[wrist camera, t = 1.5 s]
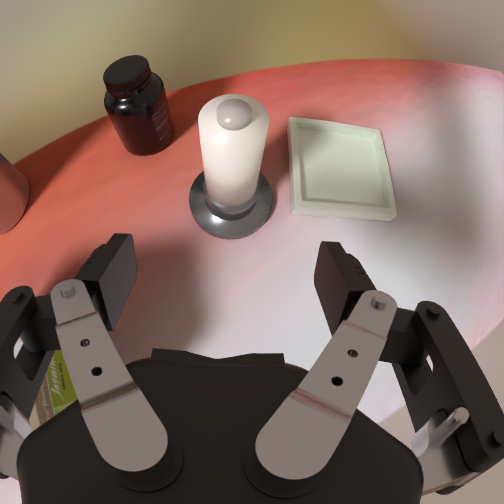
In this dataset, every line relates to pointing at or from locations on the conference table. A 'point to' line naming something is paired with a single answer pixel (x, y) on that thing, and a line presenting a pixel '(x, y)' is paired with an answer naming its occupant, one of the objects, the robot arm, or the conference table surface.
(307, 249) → the conference table surface
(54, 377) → the tea box
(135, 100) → the supplement bottle
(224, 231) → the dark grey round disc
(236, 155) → the white knobbed cylinder
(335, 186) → the tray
